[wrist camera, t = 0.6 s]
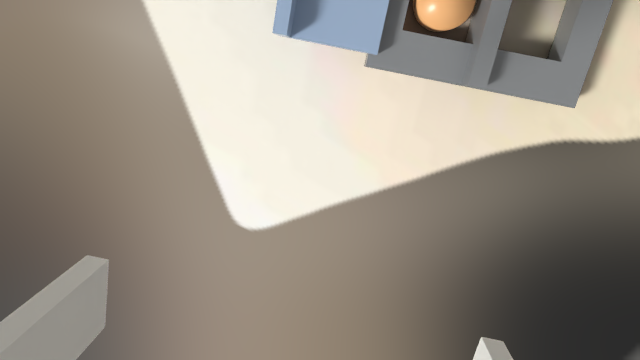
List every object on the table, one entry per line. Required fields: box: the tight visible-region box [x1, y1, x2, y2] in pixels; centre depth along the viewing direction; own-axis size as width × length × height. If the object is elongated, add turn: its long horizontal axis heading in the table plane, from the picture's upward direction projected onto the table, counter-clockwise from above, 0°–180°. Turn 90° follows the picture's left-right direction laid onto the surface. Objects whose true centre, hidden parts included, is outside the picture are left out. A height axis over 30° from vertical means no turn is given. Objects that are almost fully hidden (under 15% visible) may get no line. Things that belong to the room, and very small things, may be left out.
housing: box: [364, 0, 613, 108], centre depth 32 cm, size 12×17×4 cm
